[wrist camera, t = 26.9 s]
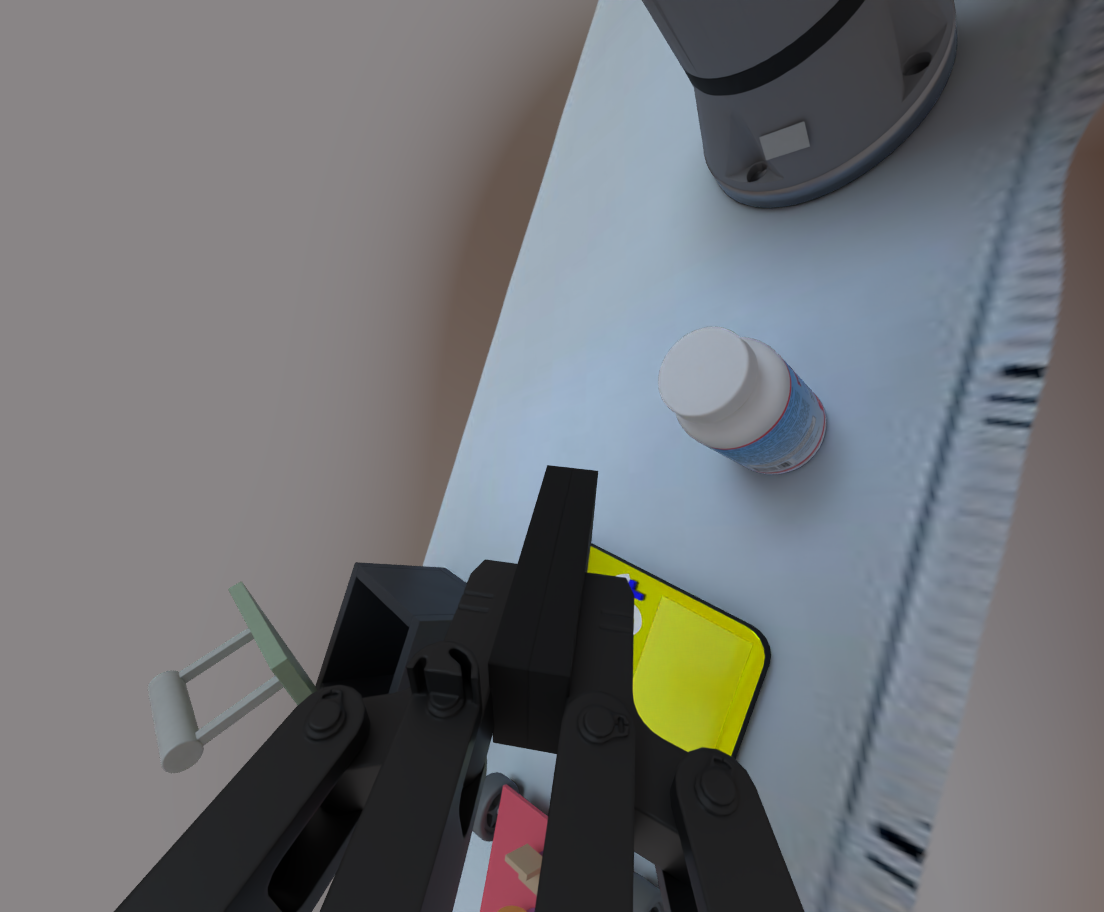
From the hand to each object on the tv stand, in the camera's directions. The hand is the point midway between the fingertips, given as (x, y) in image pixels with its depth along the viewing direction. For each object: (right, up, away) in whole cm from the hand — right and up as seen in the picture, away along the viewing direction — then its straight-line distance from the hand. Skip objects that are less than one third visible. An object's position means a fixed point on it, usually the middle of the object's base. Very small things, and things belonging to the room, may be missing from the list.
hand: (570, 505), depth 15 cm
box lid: (-20, -15, +22) cm, 33 cm away
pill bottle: (+14, +3, +17) cm, 22 cm away
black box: (-10, -17, +32) cm, 38 cm away
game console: (+5, -12, +20) cm, 24 cm away
